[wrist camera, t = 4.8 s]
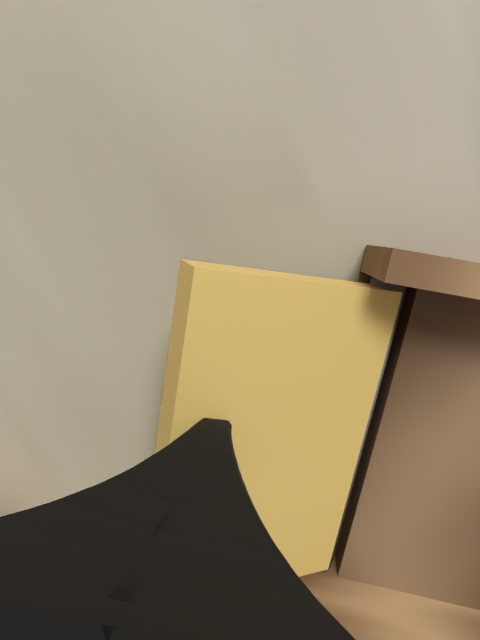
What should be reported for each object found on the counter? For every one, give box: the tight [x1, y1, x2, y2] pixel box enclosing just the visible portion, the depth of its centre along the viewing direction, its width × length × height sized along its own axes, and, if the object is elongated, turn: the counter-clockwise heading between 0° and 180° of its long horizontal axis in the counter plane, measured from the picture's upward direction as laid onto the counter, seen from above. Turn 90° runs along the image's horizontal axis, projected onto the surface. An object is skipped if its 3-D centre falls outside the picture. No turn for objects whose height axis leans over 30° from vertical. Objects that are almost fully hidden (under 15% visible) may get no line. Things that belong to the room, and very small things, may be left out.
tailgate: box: [155, 259, 407, 577], centre depth 11 cm, size 1×10×6 cm
